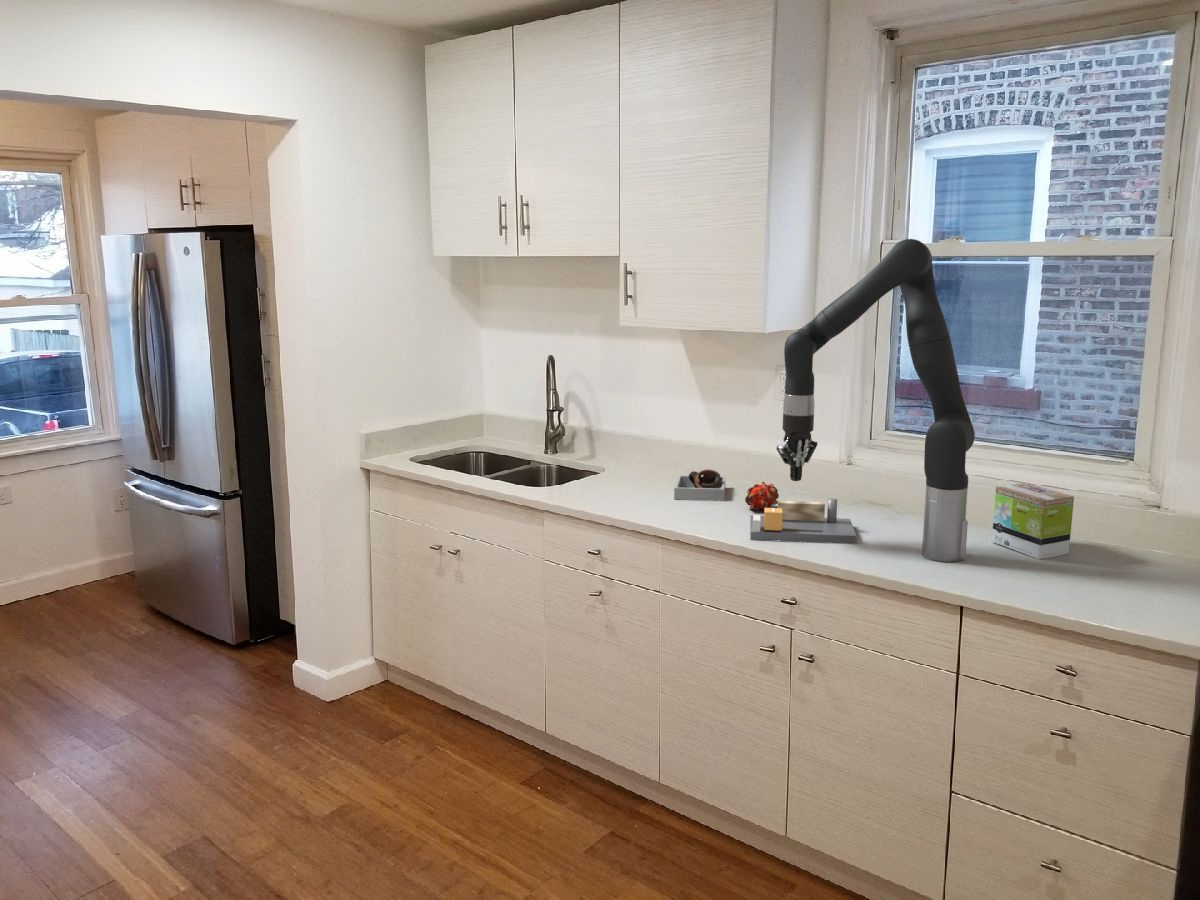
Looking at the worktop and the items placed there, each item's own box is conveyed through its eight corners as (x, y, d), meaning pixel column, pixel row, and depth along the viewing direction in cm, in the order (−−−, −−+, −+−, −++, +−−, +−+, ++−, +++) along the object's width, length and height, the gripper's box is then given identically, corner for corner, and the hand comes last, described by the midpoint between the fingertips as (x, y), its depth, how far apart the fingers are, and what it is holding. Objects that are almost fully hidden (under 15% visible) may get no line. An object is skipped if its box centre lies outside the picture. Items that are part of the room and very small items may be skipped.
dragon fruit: (779, 511, 271) (749, 524, 265) (761, 490, 276) (731, 502, 269) (791, 492, 265) (760, 505, 259) (772, 471, 270) (741, 483, 263)
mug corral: (725, 487, 294) (725, 476, 293) (723, 500, 278) (724, 489, 277) (678, 486, 296) (678, 475, 295) (674, 499, 280) (674, 488, 279)
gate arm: (823, 518, 249) (824, 502, 248) (824, 520, 247) (824, 504, 246) (777, 516, 251) (777, 500, 250) (777, 519, 249) (778, 503, 248)
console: (849, 526, 251) (850, 496, 249) (856, 543, 235) (857, 512, 234) (750, 522, 255) (751, 493, 253) (750, 539, 239) (751, 509, 238)
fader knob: (781, 525, 243) (781, 507, 242) (781, 530, 238) (782, 512, 237) (764, 525, 243) (764, 507, 242) (764, 529, 239) (764, 511, 238)
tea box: (989, 543, 235) (994, 485, 232) (1020, 538, 239) (1024, 481, 236) (1039, 560, 221) (1044, 499, 218) (1070, 555, 225) (1076, 494, 222)
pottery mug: (729, 492, 290) (729, 473, 285) (712, 511, 285) (712, 491, 279) (696, 478, 296) (695, 458, 291) (679, 496, 291) (678, 476, 285)
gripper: (791, 416, 227) (789, 487, 230) (828, 411, 234) (825, 479, 238) (768, 412, 233) (766, 481, 236) (805, 407, 240) (802, 474, 244)
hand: (795, 480), depth 237 cm, fingers closed
